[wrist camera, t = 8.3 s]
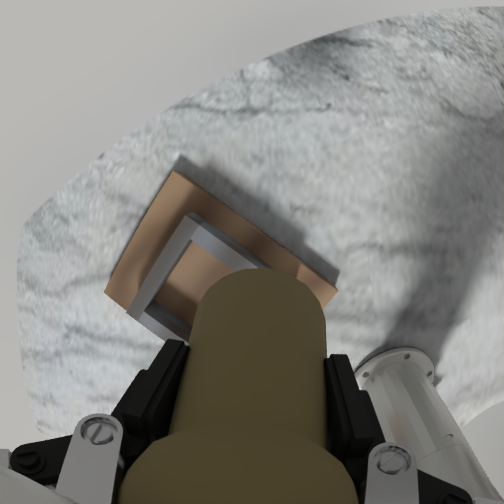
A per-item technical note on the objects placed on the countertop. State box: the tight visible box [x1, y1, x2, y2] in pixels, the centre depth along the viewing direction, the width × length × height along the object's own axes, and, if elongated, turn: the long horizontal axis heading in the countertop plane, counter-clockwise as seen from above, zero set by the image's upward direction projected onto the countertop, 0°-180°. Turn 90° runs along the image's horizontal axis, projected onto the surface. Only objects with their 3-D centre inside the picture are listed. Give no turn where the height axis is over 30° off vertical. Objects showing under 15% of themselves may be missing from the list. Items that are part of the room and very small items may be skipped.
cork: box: [117, 268, 359, 504], centre depth 8 cm, size 6×6×11 cm
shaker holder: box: [104, 171, 338, 345], centre depth 29 cm, size 20×16×4 cm
